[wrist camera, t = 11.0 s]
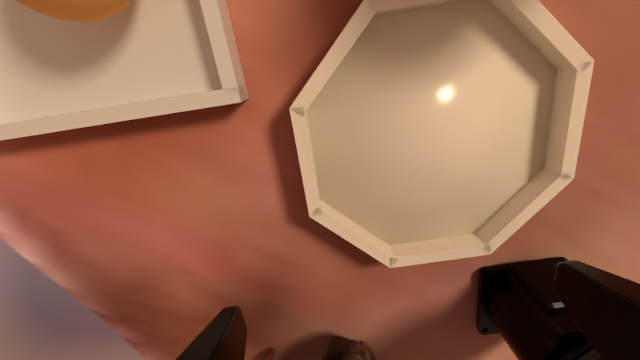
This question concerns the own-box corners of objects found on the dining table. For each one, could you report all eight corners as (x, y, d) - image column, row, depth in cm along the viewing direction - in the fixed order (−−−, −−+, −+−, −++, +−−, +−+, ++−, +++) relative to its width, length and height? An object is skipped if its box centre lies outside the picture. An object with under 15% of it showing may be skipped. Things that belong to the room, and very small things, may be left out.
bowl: (539, 227, 22) (562, 244, 20) (320, 257, 22) (320, 277, 20) (574, -34, 16) (612, -48, 14) (276, 16, 17) (271, 10, 14)
